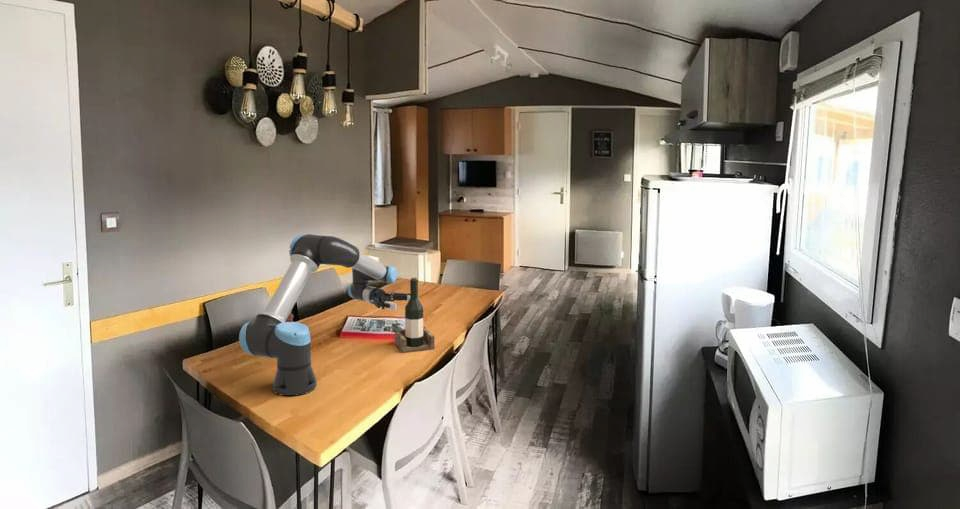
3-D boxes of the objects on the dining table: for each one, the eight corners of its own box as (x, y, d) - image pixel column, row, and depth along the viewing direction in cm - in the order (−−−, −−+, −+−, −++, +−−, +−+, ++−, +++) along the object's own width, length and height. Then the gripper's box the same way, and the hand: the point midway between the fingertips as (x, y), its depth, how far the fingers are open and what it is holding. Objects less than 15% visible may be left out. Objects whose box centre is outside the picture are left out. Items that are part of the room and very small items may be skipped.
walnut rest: (434, 349, 244) (434, 336, 243) (403, 353, 238) (403, 340, 237) (424, 339, 257) (424, 326, 255) (394, 342, 251) (394, 330, 250)
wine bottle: (420, 348, 242) (420, 281, 237) (402, 346, 244) (401, 279, 239) (426, 341, 250) (426, 276, 245) (408, 340, 252) (408, 275, 247)
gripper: (394, 298, 270) (426, 306, 257) (353, 309, 251) (386, 318, 238) (394, 283, 269) (426, 290, 256) (353, 293, 249) (386, 301, 236)
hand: (407, 303), depth 247 cm, fingers open, 13 cm apart
